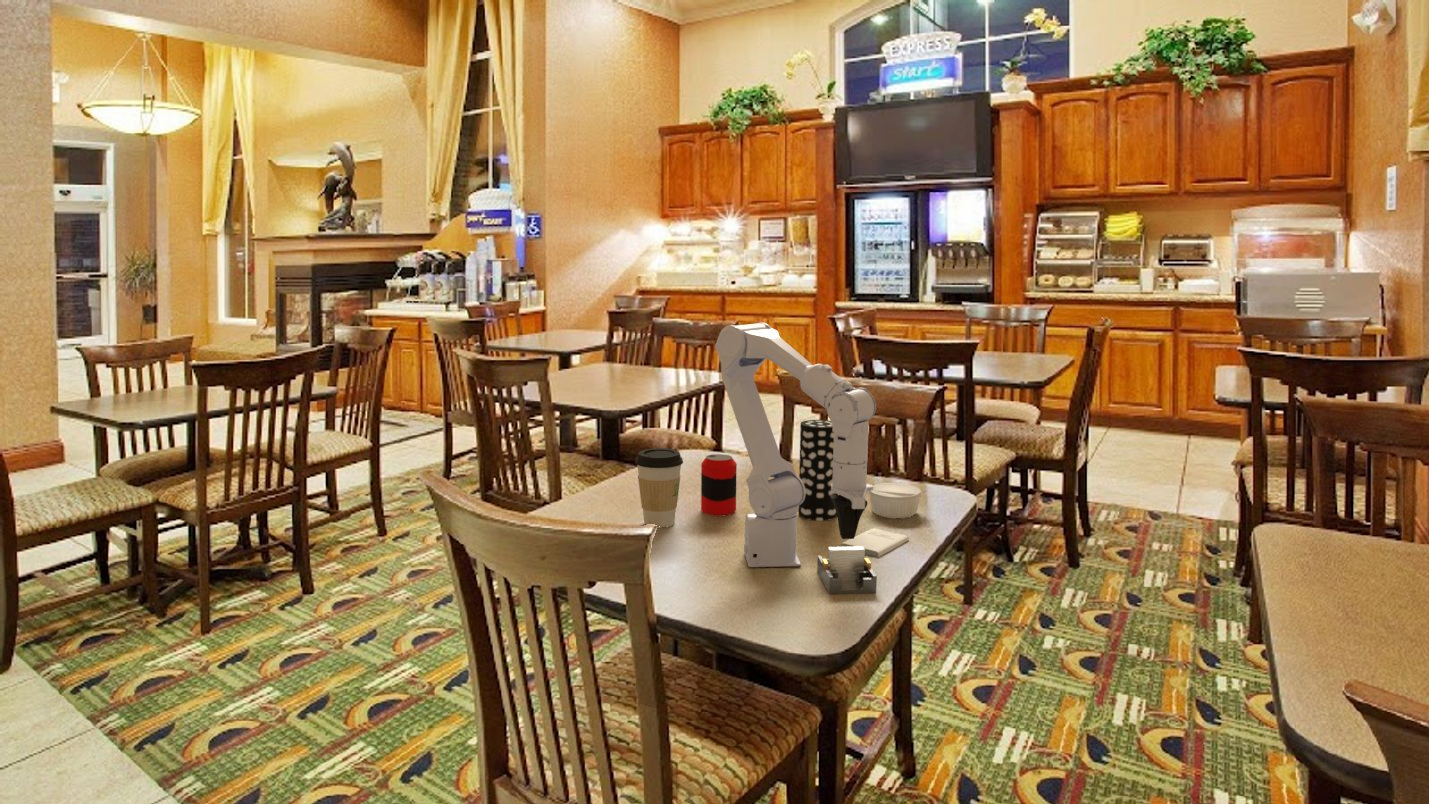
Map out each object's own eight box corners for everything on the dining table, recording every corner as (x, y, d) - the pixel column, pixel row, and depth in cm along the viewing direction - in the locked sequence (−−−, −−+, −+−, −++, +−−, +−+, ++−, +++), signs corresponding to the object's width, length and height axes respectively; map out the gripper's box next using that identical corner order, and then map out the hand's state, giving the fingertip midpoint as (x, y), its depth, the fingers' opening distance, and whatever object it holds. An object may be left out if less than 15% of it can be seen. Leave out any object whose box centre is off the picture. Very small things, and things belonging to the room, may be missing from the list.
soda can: (714, 504, 203) (714, 451, 201) (742, 510, 199) (743, 456, 197) (694, 512, 197) (694, 458, 195) (723, 518, 193) (723, 463, 191)
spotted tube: (839, 521, 192) (842, 428, 188) (799, 520, 192) (802, 427, 188) (834, 509, 200) (837, 420, 196) (796, 509, 200) (798, 419, 196)
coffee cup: (692, 521, 191) (692, 451, 188) (664, 534, 182) (664, 461, 180) (654, 513, 196) (654, 445, 193) (625, 525, 188) (625, 454, 185)
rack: (829, 594, 152) (829, 572, 152) (817, 571, 163) (817, 551, 162) (876, 592, 153) (877, 571, 152) (861, 570, 163) (862, 550, 163)
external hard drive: (840, 550, 175) (871, 534, 185) (878, 560, 170) (908, 543, 180) (840, 542, 175) (872, 526, 185) (878, 551, 170) (909, 535, 180)
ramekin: (879, 522, 192) (880, 497, 191) (860, 506, 202) (861, 483, 201) (929, 519, 194) (930, 495, 193) (907, 504, 205) (908, 481, 204)
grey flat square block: (829, 580, 157) (830, 550, 156) (827, 577, 158) (828, 547, 157) (863, 580, 157) (864, 549, 156) (861, 576, 159) (862, 546, 158)
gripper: (884, 471, 147) (881, 551, 150) (863, 450, 161) (860, 524, 164) (841, 471, 147) (838, 552, 149) (823, 450, 161) (821, 524, 163)
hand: (847, 537), depth 156 cm, fingers closed
